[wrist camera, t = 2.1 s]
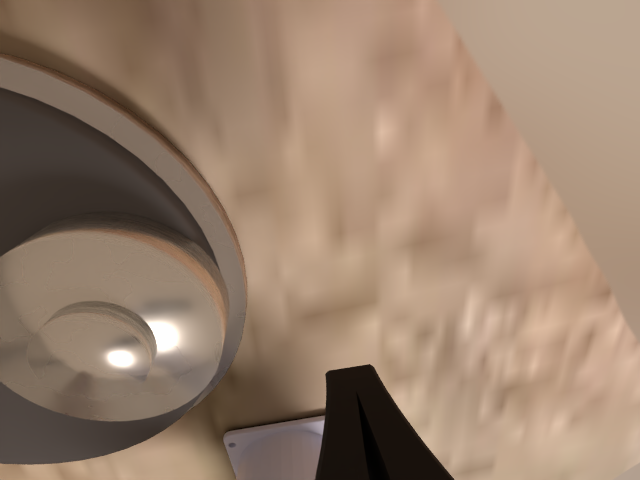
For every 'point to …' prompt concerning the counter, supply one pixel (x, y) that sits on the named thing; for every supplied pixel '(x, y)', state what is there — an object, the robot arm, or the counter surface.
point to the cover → (110, 317)
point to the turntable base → (160, 160)
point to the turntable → (49, 206)
